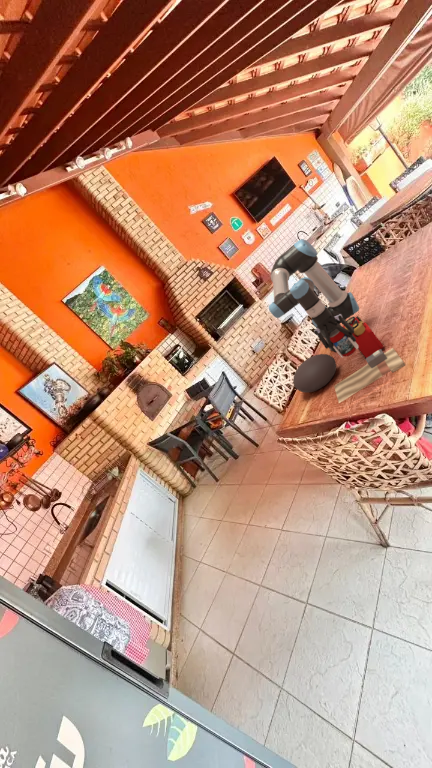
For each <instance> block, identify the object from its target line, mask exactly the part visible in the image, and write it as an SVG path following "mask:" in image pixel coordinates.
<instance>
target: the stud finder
mask: <svg viewBox="0 0 432 768" xmlns="http://www.w3.org/2000/svg"><path fill="white" fill-rule="evenodd" d="M384 353H385V352H384V351H383V349H380V350H378V351H376V352H375V353H373V354H372V355H371V356H369V357H367V358H366V359H365V362H366V363H367V364H369V366H370V367H371V368H373V367H375V366H376V365H378V364H380V363H381V362H383V361H384V360H386V359H387V357H386V355H385V354H384Z"/></svg>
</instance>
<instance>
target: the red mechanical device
mask: <svg viewBox="0 0 432 768" xmlns="http://www.w3.org/2000/svg"><path fill="white" fill-rule="evenodd" d="M346 321H347V322H348V323H349V324H350V325H351V326H352V327H353V328H354V333H353V336H354V337H355V338H356V341H355V342H356V343H357V344H358V349H357V350H358V351H359V352H360V353H361V355H362V357H364V359H365V360H366V358H367V357H369V356H371V355H372V354H373V353H375V352H376V351H378V350H380V349H381V350H383V349H384V348H385V346H384V345H383V343H382V341H381V340H380V339H379V338H378V337H377V336H376V334H375V333H374V331H373V330H372V329H371V328H370V326H369V325H368V324H367V323H366V322H365V321H363V320H362V319H361V318H360V316H358V315H357V316H356V317H355V316H350V317H349V318H347V319H346ZM342 327H344V328H345V329H347V328H346V327H345V326H344V325H342ZM347 330H348V329H347Z"/></svg>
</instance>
